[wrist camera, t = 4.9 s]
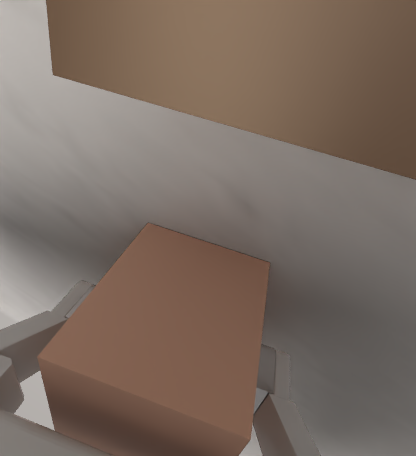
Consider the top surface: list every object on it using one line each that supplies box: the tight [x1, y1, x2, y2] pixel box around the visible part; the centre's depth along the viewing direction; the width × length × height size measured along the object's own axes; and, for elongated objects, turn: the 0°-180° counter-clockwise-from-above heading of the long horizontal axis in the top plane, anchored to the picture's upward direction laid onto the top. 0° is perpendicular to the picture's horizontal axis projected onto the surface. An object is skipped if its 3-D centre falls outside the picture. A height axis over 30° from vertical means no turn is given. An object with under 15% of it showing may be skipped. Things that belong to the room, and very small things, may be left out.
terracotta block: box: [37, 223, 270, 456], centre depth 10 cm, size 5×5×6 cm
